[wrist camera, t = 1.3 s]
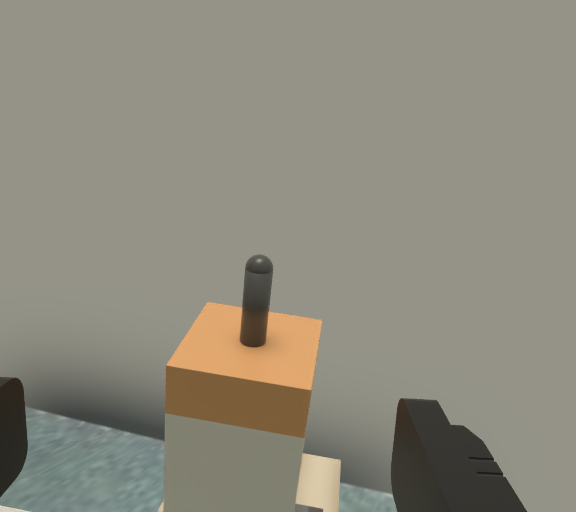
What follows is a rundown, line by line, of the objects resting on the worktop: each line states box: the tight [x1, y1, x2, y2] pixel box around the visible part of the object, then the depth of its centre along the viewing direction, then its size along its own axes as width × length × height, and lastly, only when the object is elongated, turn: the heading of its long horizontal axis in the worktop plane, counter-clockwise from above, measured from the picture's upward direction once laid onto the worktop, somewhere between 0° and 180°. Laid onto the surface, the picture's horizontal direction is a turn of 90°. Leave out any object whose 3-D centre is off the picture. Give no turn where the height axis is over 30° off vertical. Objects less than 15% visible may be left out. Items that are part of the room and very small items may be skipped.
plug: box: [163, 255, 322, 512], centre depth 21 cm, size 5×5×18 cm
